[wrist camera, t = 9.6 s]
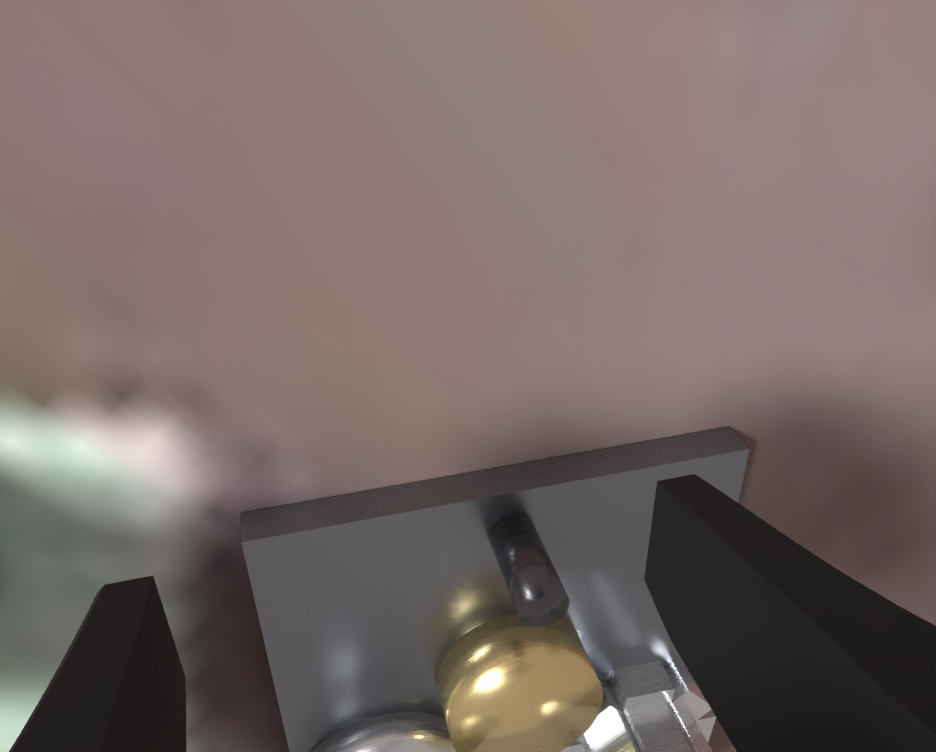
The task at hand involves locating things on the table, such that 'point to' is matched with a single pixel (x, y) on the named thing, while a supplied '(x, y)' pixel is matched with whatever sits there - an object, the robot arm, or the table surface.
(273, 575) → the carrier
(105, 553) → the table surface
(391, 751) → the silver rounded piece
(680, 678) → the gear
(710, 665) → the robot arm
